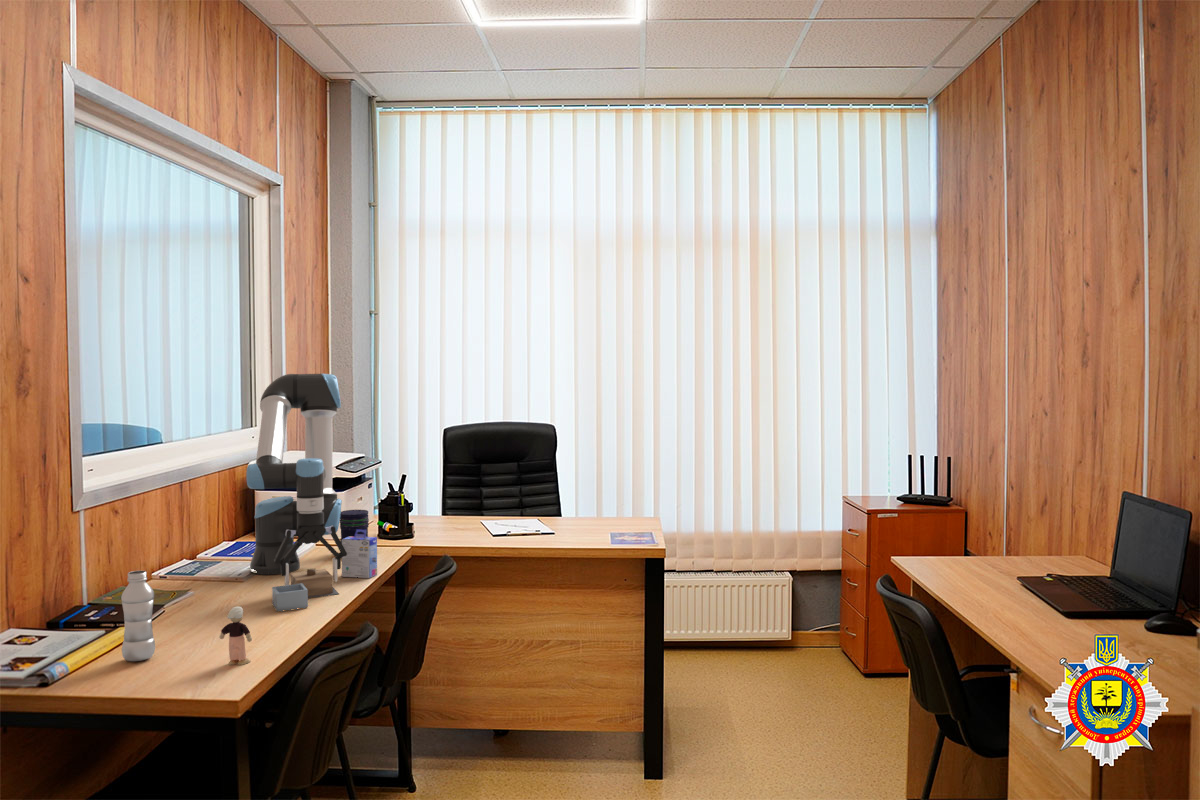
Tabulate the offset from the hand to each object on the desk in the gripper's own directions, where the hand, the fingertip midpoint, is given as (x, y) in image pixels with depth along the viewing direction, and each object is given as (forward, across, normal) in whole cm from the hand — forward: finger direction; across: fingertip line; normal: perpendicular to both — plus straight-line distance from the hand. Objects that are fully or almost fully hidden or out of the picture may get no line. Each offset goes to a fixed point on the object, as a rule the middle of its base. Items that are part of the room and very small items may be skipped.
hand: (311, 583), depth 244 cm
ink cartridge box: (+3, +17, +12) cm, 21 cm away
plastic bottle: (+4, -45, -39) cm, 59 cm away
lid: (+2, 0, 0) cm, 2 cm away
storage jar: (+2, +23, +44) cm, 50 cm away
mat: (+3, 0, 0) cm, 3 cm away
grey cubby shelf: (+3, -8, -12) cm, 14 cm away
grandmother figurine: (+4, -26, -52) cm, 58 cm away
